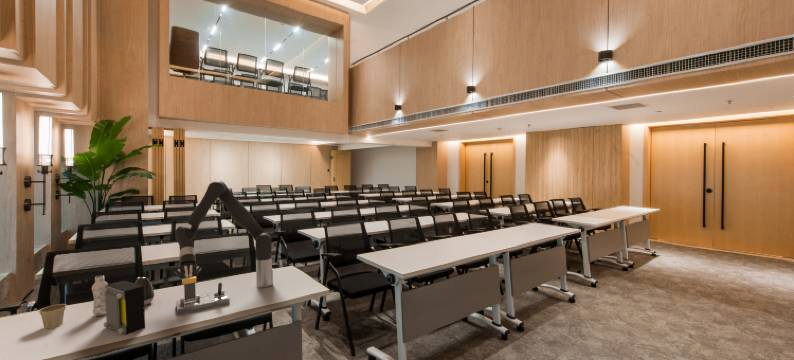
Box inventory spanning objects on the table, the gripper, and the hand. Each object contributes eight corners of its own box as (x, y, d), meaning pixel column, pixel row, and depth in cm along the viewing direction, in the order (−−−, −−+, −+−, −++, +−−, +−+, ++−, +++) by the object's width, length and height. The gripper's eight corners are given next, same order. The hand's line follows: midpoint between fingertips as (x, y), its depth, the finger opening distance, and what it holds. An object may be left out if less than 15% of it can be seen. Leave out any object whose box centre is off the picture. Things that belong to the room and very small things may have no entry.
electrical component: (102, 328, 158) (100, 286, 157) (127, 319, 167) (126, 279, 166) (121, 337, 150) (119, 292, 149) (146, 327, 159) (145, 285, 158)
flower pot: (66, 319, 168) (65, 302, 167) (68, 324, 162) (68, 307, 161) (38, 326, 160) (37, 308, 160) (40, 332, 154) (39, 314, 154)
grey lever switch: (225, 295, 196) (225, 276, 196) (229, 303, 185) (229, 282, 184) (176, 306, 183) (175, 284, 182) (177, 315, 171) (176, 292, 171)
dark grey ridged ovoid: (148, 299, 192) (147, 273, 192) (158, 302, 187) (157, 275, 187) (127, 305, 184) (126, 278, 183) (136, 309, 178) (135, 281, 178)
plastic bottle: (90, 318, 168) (89, 279, 167) (95, 313, 174) (93, 275, 173) (107, 316, 171) (105, 277, 170) (111, 311, 177) (109, 273, 176)
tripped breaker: (196, 299, 183) (195, 276, 182) (196, 300, 181) (196, 277, 180) (183, 301, 180) (182, 278, 178) (183, 303, 177) (183, 280, 176)
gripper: (173, 255, 184) (174, 283, 174) (201, 251, 191) (203, 278, 182) (173, 262, 188) (174, 290, 179) (200, 258, 196) (203, 285, 187)
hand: (189, 284), depth 181 cm, fingers closed
